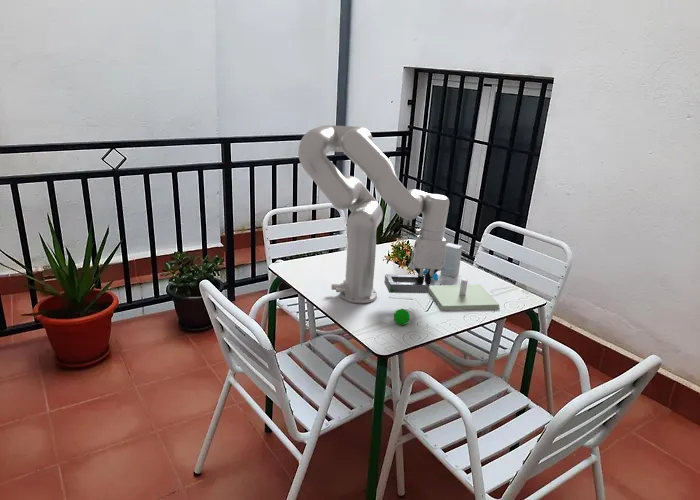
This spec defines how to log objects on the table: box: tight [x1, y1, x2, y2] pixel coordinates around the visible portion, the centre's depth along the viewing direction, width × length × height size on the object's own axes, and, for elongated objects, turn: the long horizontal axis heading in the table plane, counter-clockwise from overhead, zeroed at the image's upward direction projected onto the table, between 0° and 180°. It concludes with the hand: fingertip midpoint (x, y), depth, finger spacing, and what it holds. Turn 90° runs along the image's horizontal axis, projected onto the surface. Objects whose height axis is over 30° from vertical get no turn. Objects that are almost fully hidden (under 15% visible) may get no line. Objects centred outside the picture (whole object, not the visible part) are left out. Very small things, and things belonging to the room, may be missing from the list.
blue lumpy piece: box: [423, 269, 439, 281], centre depth 187 cm, size 11×6×10 cm
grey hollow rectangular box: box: [384, 274, 431, 294], centre depth 161 cm, size 13×7×3 cm, turn 99°
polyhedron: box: [393, 308, 411, 326], centre depth 152 cm, size 5×5×5 cm
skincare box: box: [440, 242, 463, 278], centre depth 189 cm, size 6×4×12 cm
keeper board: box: [428, 278, 500, 311], centre depth 170 cm, size 20×16×7 cm
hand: (423, 285), depth 162 cm, fingers closed on grey hollow rectangular box, 1 cm apart
